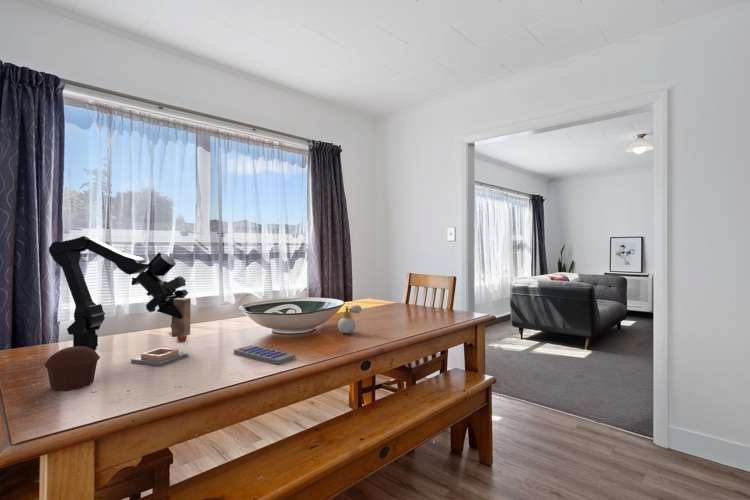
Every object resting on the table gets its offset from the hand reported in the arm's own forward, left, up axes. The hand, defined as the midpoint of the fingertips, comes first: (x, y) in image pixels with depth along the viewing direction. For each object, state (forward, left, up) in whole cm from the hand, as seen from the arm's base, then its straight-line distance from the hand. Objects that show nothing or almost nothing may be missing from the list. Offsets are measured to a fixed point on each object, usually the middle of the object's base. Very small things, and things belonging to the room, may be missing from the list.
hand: (185, 316), depth 137 cm
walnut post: (-1, +1, -7) cm, 7 cm away
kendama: (+4, +25, -12) cm, 28 cm away
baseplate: (-9, -6, -12) cm, 16 cm away
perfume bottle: (+62, -14, -12) cm, 65 cm away
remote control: (+19, -23, -13) cm, 33 cm away
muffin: (-32, -17, -12) cm, 38 cm away
